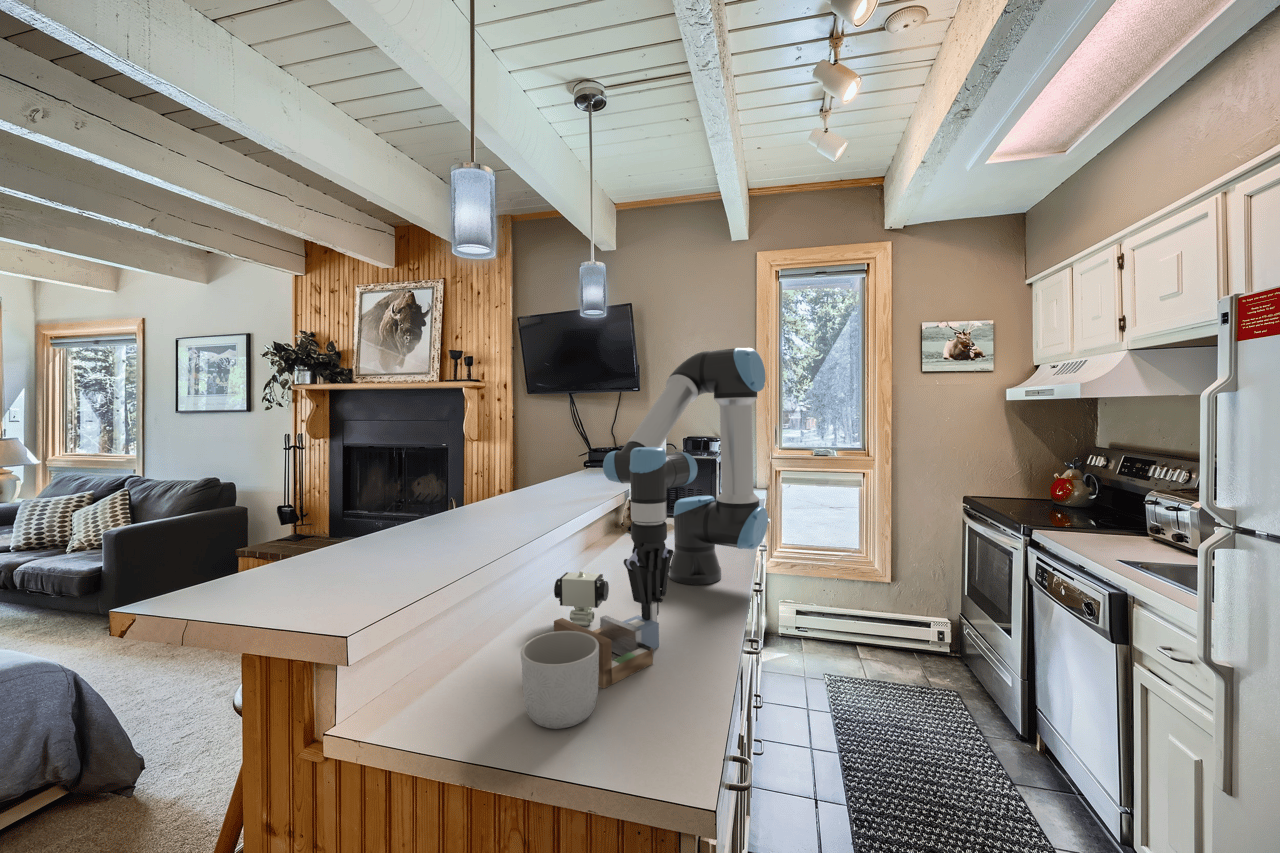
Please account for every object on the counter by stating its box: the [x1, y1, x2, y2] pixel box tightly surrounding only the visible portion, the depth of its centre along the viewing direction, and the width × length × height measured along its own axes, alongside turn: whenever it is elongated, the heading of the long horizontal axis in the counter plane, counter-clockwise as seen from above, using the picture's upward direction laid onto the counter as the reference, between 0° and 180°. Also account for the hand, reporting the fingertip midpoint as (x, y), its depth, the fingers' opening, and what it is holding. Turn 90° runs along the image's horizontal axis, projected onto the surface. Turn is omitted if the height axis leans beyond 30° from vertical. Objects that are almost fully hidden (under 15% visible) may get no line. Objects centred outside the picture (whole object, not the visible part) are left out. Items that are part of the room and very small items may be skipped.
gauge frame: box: [553, 617, 654, 689], centre depth 101 cm, size 12×15×8 cm
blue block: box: [621, 614, 660, 651], centre depth 107 cm, size 7×6×5 cm
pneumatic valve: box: [553, 570, 610, 627], centre depth 120 cm, size 6×12×12 cm, turn 78°
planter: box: [520, 631, 599, 730], centre depth 84 cm, size 12×12×11 cm
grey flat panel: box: [599, 614, 651, 657], centre depth 103 cm, size 2×13×6 cm, turn 45°
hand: (650, 632), depth 110 cm, fingers closed
